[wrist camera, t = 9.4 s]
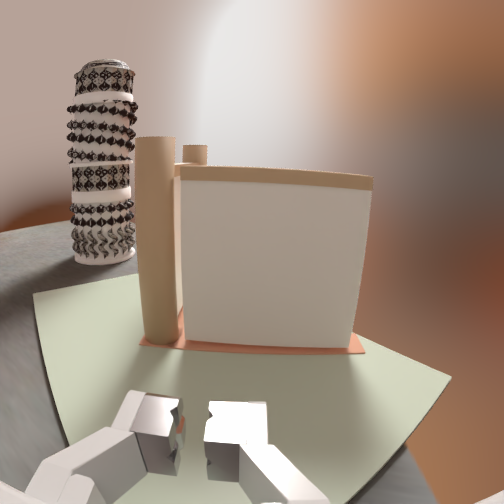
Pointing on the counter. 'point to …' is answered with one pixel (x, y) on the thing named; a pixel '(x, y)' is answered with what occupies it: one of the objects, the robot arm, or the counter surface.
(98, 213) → the decorative candle
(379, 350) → the mat
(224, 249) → the swing panel
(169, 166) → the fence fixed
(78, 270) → the counter surface
